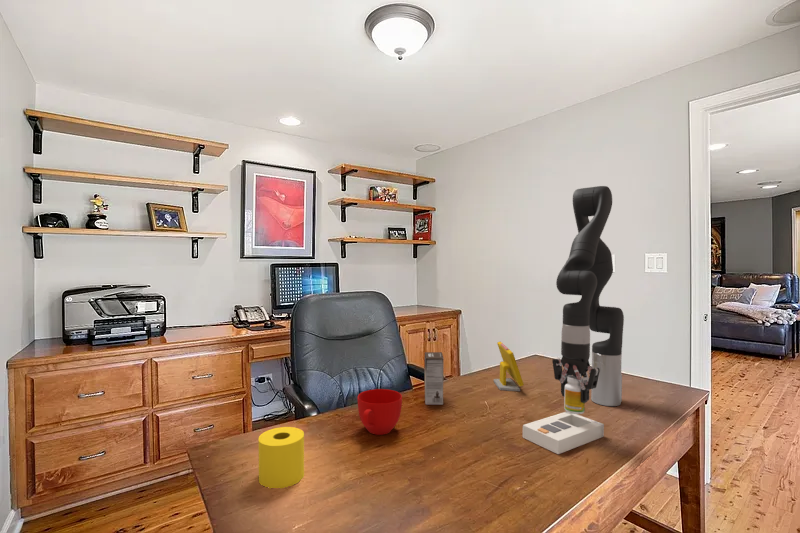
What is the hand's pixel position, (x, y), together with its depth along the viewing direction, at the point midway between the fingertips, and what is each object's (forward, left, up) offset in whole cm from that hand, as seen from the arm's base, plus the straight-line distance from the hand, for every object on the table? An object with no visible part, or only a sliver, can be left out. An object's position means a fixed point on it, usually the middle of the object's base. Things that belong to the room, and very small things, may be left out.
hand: (574, 398), depth 119 cm
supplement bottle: (0, 0, -4) cm, 4 cm away
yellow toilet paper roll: (+78, -21, -10) cm, 81 cm away
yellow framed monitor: (-16, -41, -10) cm, 45 cm away
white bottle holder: (+5, 0, -10) cm, 11 cm away
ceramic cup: (+48, -30, -10) cm, 57 cm away
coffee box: (+18, -43, -10) cm, 48 cm away
